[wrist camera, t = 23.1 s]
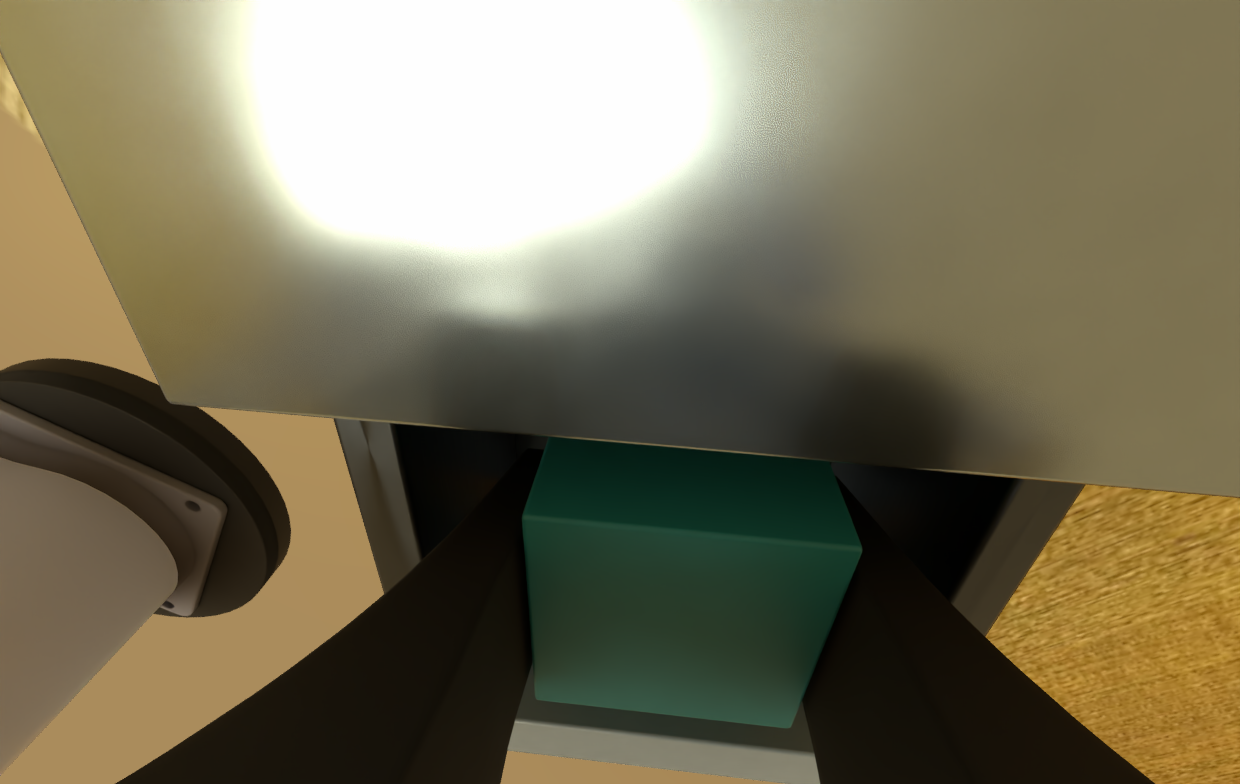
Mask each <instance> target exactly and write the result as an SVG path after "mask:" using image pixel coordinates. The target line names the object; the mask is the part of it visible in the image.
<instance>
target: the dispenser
mask: <svg viewBox="0 0 1240 784" xmlns="http://www.w3.org/2000/svg"><path fill="white" fill-rule="evenodd" d="M0 53H1V55H2V57H3V59H4V61H5V63H6V65H7V67H8V69H9V71H10V74H11V76H12V78H13V80H14V82H15V84H16V86H17V88H18V90H19V92H20V94H21V97H22V99H23V101H24V103H25V105H26V107H27V109H28V111H29V113H30V115H31V117H32V120H33V122H34V124H35V126H36V128H37V130H38V132H39V134H40V136H41V138H42V140H43V143H44V145H45V147H46V149H47V151H48V153H49V155H50V157H51V159H52V161H53V163H54V165H55V168H56V169H57V172H58V174H59V176H60V178H61V180H62V182H63V184H64V186H65V188H66V191H67V193H68V195H69V197H70V199H71V201H72V203H73V205H74V207H75V209H76V211H77V214H78V216H79V218H80V220H81V222H82V224H83V226H84V228H85V230H86V232H87V234H88V237H89V239H90V241H91V243H92V245H93V247H94V249H95V251H96V253H97V256H98V258H99V260H100V262H101V264H102V266H103V268H104V270H105V272H106V274H107V276H108V278H109V281H110V283H111V285H112V287H113V289H114V291H115V293H116V295H117V297H118V299H119V302H120V304H121V305H122V308H123V310H124V312H125V314H126V316H127V318H128V320H129V322H130V325H131V327H132V329H133V331H134V332H135V335H136V337H137V339H138V341H139V343H140V345H141V347H142V350H143V352H144V354H145V356H146V358H147V360H148V362H149V364H150V366H151V368H152V371H153V373H154V375H155V377H156V379H157V381H158V383H159V385H160V387H161V389H162V391H163V394H164V396H165V398H166V400H167V401H169V402H170V403H172V404H176V405H188V406H199V407H211V408H222V409H234V410H245V411H256V412H268V413H279V414H290V415H302V416H313V417H324V418H336V419H347V420H358V421H370V422H381V423H393V424H404V425H415V426H427V427H438V428H449V429H461V430H472V431H484V432H495V433H506V434H518V435H529V436H541V437H552V438H563V439H575V440H586V441H597V442H609V443H620V444H632V445H643V446H654V447H666V448H677V449H688V450H700V451H711V452H723V453H734V454H745V455H757V456H768V457H779V458H791V459H802V460H814V461H825V462H836V463H848V464H859V465H870V466H882V467H893V468H905V469H916V470H927V471H939V472H950V473H961V474H973V475H984V476H996V477H1007V478H1018V479H1030V480H1041V481H1053V482H1064V483H1075V484H1087V485H1098V486H1109V487H1121V488H1132V489H1144V490H1155V491H1166V492H1178V493H1189V494H1200V495H1212V496H1223V497H1235V498H1240V0H0Z"/></svg>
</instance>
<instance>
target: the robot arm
mask: <svg viewBox="0 0 1240 784" xmlns="http://www.w3.org/2000/svg"><path fill="white" fill-rule="evenodd" d="M543 452H544V450H543V449H531V448H528V449H526V450H525V451H524V452H523V453H522V454H521V455H520V456H519V457H518V458H517V460H516V461H515V462H514V463H513V464H512V466H511V467H510V468H509V469H508V470H507V472H506V473H505V474H504V475H503V476H502V477H501V479H500V480H499V481H498V482H497V483H496V484H495V485H494V486H493V488H492V489H491V490H490V491H489V492H488V493H487V494H486V495H485V497H484V498H483V499H482V500H481V501H480V502H479V503H478V504H477V505H476V506H475V507H474V508H473V509H472V510H471V512H470V513H469V514H468V515H467V516H466V517H465V518H464V519H463V520H462V521H461V522H460V523H459V524H458V525H457V526H456V527H455V528H454V529H453V530H452V531H451V532H450V533H449V534H448V536H447V537H445V538H444V539H443V540H442V541H441V542H440V543H439V544H438V545H437V546H436V547H435V548H434V549H433V550H432V551H431V552H430V553H429V554H428V555H427V556H426V557H425V558H423V559H422V560H421V561H420V562H419V563H418V564H417V565H416V566H415V567H414V568H413V569H412V570H411V571H410V572H409V573H408V574H407V575H406V576H404V577H403V578H402V579H401V580H400V581H399V582H398V583H397V584H395V585H394V586H393V587H392V588H391V589H390V590H389V591H387V592H386V593H385V594H384V595H383V596H382V597H380V598H379V599H378V600H377V601H376V602H375V603H373V604H372V605H371V606H370V607H369V608H367V609H366V610H365V611H364V612H363V613H361V614H360V615H359V616H358V617H357V618H355V619H354V620H353V621H351V622H350V623H349V624H348V625H347V626H345V627H344V628H343V629H342V630H340V631H339V632H338V633H336V634H335V635H334V636H332V637H331V638H330V639H328V640H327V641H326V642H325V643H323V644H322V645H321V646H319V647H318V648H317V649H315V650H314V651H313V652H311V653H310V654H309V655H307V656H306V657H305V658H304V659H302V660H301V661H299V662H298V663H297V664H295V665H294V666H293V667H291V668H290V669H289V670H287V671H286V672H285V673H283V674H282V675H280V676H279V677H278V678H276V679H275V680H273V681H272V682H271V683H269V684H268V685H266V686H265V687H263V688H262V689H261V690H259V691H258V692H256V693H255V694H254V695H252V696H251V697H249V698H247V699H246V700H244V701H243V702H242V703H240V704H239V705H237V706H235V707H234V708H232V709H231V710H229V711H228V712H226V713H225V714H223V715H222V716H220V717H219V718H217V719H216V720H214V721H213V722H211V723H210V724H208V725H207V726H205V727H204V728H202V729H201V730H199V731H198V732H196V733H195V734H193V735H192V736H190V737H189V738H187V739H186V740H184V741H183V742H181V743H180V744H178V745H177V746H175V747H173V748H172V749H170V750H169V751H168V752H166V753H164V754H163V755H161V756H159V757H158V758H156V759H155V760H153V761H152V762H150V763H148V764H147V765H145V766H144V767H142V768H140V769H139V770H137V771H136V772H134V773H132V774H131V775H129V776H127V777H126V778H124V779H122V780H121V781H119V782H117V783H116V784H500V782H501V778H502V773H503V768H504V763H505V759H506V754H507V749H508V745H509V742H510V738H511V734H512V730H513V726H514V722H515V719H516V715H517V712H518V709H519V705H520V702H521V699H522V695H523V692H524V689H525V685H526V682H527V679H528V675H529V672H530V669H531V665H532V649H531V636H530V622H529V608H528V595H527V581H526V568H525V554H524V540H523V527H522V515H523V512H524V509H525V506H526V503H527V500H528V497H529V494H530V491H531V488H532V485H533V482H534V479H535V476H536V473H537V470H538V467H539V464H540V461H541V458H542V455H543ZM835 478H836V480H837V483H838V485H839V488H840V491H841V493H842V496H843V499H844V501H845V504H846V506H847V509H848V512H849V514H850V517H851V519H852V522H853V525H854V527H855V530H856V533H857V535H858V538H859V540H860V543H861V546H862V554H861V556H860V559H859V561H858V564H857V566H856V569H855V571H854V573H853V576H852V578H851V581H850V583H849V586H848V588H847V591H846V593H845V596H844V598H843V601H842V603H841V605H840V608H839V610H838V613H837V615H836V618H835V620H834V623H833V625H832V628H831V630H830V633H829V635H828V637H827V640H826V642H825V645H824V647H823V650H822V652H821V655H820V657H819V660H818V662H817V665H816V667H815V669H814V672H813V674H812V677H811V679H810V682H809V684H808V687H807V689H806V692H805V694H804V697H803V699H802V703H803V707H804V711H805V716H806V720H807V724H808V728H809V733H810V737H811V741H812V745H813V750H814V754H815V759H816V765H817V770H818V775H819V780H820V784H1155V783H1154V782H1152V781H1151V780H1150V779H1149V778H1147V777H1146V776H1145V775H1144V774H1142V773H1141V772H1140V771H1139V770H1137V769H1136V768H1135V767H1134V766H1132V765H1131V764H1130V763H1129V762H1127V761H1126V760H1125V759H1124V758H1122V757H1121V756H1120V755H1119V754H1117V753H1116V752H1115V751H1114V750H1112V749H1111V748H1110V747H1109V746H1107V745H1106V744H1105V743H1104V742H1103V741H1101V740H1100V739H1099V738H1098V737H1097V736H1095V735H1094V734H1093V733H1092V732H1091V731H1089V730H1088V729H1087V728H1086V727H1085V726H1083V725H1082V724H1081V723H1080V722H1079V721H1077V720H1076V719H1075V718H1074V717H1073V716H1072V715H1070V714H1069V713H1068V712H1067V711H1066V710H1065V709H1064V708H1063V707H1061V706H1060V705H1059V704H1058V703H1057V702H1056V701H1055V700H1054V699H1052V698H1051V697H1050V696H1049V695H1048V694H1047V693H1046V692H1044V691H1043V690H1042V689H1041V688H1040V687H1039V686H1038V685H1037V684H1035V683H1034V682H1033V681H1032V680H1031V679H1030V678H1029V677H1028V676H1026V675H1025V674H1024V673H1023V672H1022V671H1021V670H1020V669H1019V668H1017V667H1016V666H1015V665H1014V664H1013V663H1012V662H1011V661H1010V660H1009V659H1008V658H1007V657H1006V656H1005V655H1003V654H1002V653H1001V652H1000V651H999V650H998V649H997V648H996V647H995V646H994V645H993V644H992V643H991V642H990V641H989V640H988V639H987V638H986V637H985V636H984V635H983V634H982V633H981V632H980V631H979V630H978V629H977V628H976V627H975V626H974V625H973V624H972V623H971V622H969V621H968V620H967V619H966V618H965V617H964V616H963V615H962V614H961V613H960V612H959V611H958V610H957V609H956V608H955V607H954V606H953V605H952V604H951V603H950V602H949V601H948V599H947V598H946V597H945V596H944V595H943V594H942V593H941V592H940V591H939V590H938V589H937V588H936V587H935V586H934V585H933V584H932V583H931V582H930V581H929V580H928V579H927V578H926V576H925V575H924V574H923V573H922V572H921V571H920V570H919V569H918V568H917V567H916V566H915V565H914V563H913V562H912V561H911V560H910V559H909V558H908V557H907V556H906V555H905V554H904V553H903V551H902V550H901V549H900V548H899V547H898V546H897V545H896V544H895V542H894V541H893V540H892V539H891V538H890V537H889V536H888V535H887V533H886V532H885V531H884V530H883V529H882V528H881V527H880V525H879V524H878V523H877V522H876V521H875V520H874V519H873V517H872V516H871V515H870V514H869V513H868V512H867V510H866V509H865V508H864V507H863V506H862V505H861V503H860V502H859V501H858V500H857V499H856V498H855V497H854V495H853V494H852V493H851V492H850V491H849V490H848V488H847V487H846V486H845V485H844V484H843V483H842V482H841V481H840V479H839V478H838V477H837V476H835ZM226 515H227V506H226V504H225V503H224V502H223V501H222V500H221V499H219V498H217V497H215V496H213V495H211V494H209V493H206V492H204V491H202V490H200V489H198V488H195V487H193V486H191V485H189V484H186V483H184V482H182V481H180V480H178V479H175V478H173V477H171V476H169V475H166V474H164V473H162V472H160V471H158V470H155V469H153V468H151V467H149V466H146V465H144V464H142V463H140V462H138V461H135V460H133V459H131V458H129V457H127V456H124V455H122V454H120V453H118V452H115V451H113V450H111V449H109V448H107V447H104V446H102V445H100V444H98V443H95V442H93V441H91V440H89V439H87V438H84V437H82V436H80V435H78V434H75V433H73V432H71V431H69V430H67V429H64V428H62V427H60V426H58V425H56V424H53V423H51V422H49V421H47V420H44V419H42V418H40V417H38V416H36V415H33V414H31V413H29V412H27V411H24V410H22V409H20V408H18V407H16V406H13V405H11V404H9V403H7V402H4V401H2V400H0V775H1V774H2V773H3V772H4V771H5V770H6V769H7V768H8V767H9V766H10V765H11V764H12V763H13V762H14V760H16V758H17V757H18V756H19V755H20V754H21V753H22V752H23V751H24V750H25V749H26V748H27V747H28V746H29V745H30V744H31V743H32V742H33V740H34V739H35V738H36V737H37V736H38V735H39V734H40V733H41V732H42V731H43V730H44V729H45V728H46V727H47V726H48V725H49V723H50V722H51V721H52V720H53V719H54V718H55V717H56V716H57V715H58V714H59V713H60V712H61V711H62V710H63V709H64V708H65V707H66V706H67V704H68V703H69V702H70V701H71V700H72V699H73V698H74V697H75V696H76V695H77V694H78V693H79V692H80V691H81V690H82V688H83V687H84V686H85V685H86V684H87V683H88V682H89V681H90V680H91V679H92V678H93V677H94V676H95V675H96V674H97V673H98V672H99V671H100V670H101V668H102V667H103V666H104V665H105V664H106V663H107V662H108V661H109V660H110V659H111V658H112V657H113V656H114V655H115V653H117V651H118V650H119V649H120V648H121V647H122V646H123V645H124V644H125V643H126V642H127V641H128V640H129V639H130V637H132V636H133V634H134V633H135V632H136V631H137V630H138V629H139V628H140V627H141V626H142V625H143V624H144V623H145V622H146V621H147V619H149V617H151V615H152V614H153V613H154V612H155V611H156V610H157V609H158V608H159V607H160V608H163V609H165V610H168V611H170V612H173V613H175V614H178V615H181V616H189V615H191V614H192V613H193V612H194V611H195V610H196V608H197V607H198V605H199V601H200V598H201V595H202V592H203V588H204V585H205V582H206V579H207V576H208V572H209V569H210V566H211V563H212V560H213V556H214V553H215V550H216V547H217V544H218V540H219V537H220V534H221V531H222V527H223V524H224V521H225V518H226Z"/></svg>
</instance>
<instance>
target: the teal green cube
mask: <svg viewBox="0 0 1240 784" xmlns="http://www.w3.org/2000/svg"><path fill="white" fill-rule="evenodd" d="M522 527H523V540H524V554H525V568H526V581H527V595H528V608H529V622H530V636H531V649H532V663H533V676H534V690H535V698H536V699H537V700H542V701H551V702H560V703H569V704H578V705H586V706H595V707H604V708H613V709H621V710H630V711H639V712H648V713H656V714H665V715H674V716H683V717H691V718H700V719H709V720H718V721H726V722H735V723H744V724H753V725H762V726H770V727H779V728H790V727H791V726H792V724H793V721H794V719H795V716H796V714H797V711H798V709H799V706H800V704H801V701H802V699H803V697H804V694H805V692H806V689H807V687H808V684H809V682H810V679H811V677H812V674H813V672H814V669H815V667H816V665H817V662H818V660H819V657H820V655H821V652H822V650H823V647H824V645H825V642H826V640H827V637H828V635H829V633H830V630H831V628H832V625H833V623H834V620H835V618H836V615H837V613H838V610H839V608H840V605H841V603H842V601H843V598H844V596H845V593H846V591H847V588H848V586H849V583H850V581H851V578H852V576H853V573H854V571H855V569H856V566H857V564H858V561H859V559H860V556H861V554H862V546H861V543H860V540H859V538H858V535H857V533H856V530H855V527H854V525H853V522H852V519H851V517H850V514H849V512H848V509H847V506H846V504H845V501H844V499H843V496H842V493H841V491H840V488H839V485H838V483H837V480H836V478H835V475H834V472H833V470H832V467H831V465H830V462H825V461H814V460H802V459H791V458H779V457H768V456H757V455H745V454H734V453H723V452H711V451H700V450H688V449H677V448H666V447H654V446H643V445H632V444H620V443H609V442H597V441H586V440H575V439H563V438H552V437H549V438H548V440H547V443H546V446H545V449H544V452H543V455H542V458H541V461H540V464H539V467H538V470H537V473H536V476H535V479H534V482H533V485H532V488H531V491H530V494H529V497H528V500H527V503H526V506H525V509H524V512H523V515H522Z"/></svg>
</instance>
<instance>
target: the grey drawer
mask: <svg viewBox="0 0 1240 784" xmlns="http://www.w3.org/2000/svg"><path fill="white" fill-rule="evenodd" d="M334 422H335V425H336V429H337V432H338V436H339V439H340V443H341V446H342V450H343V453H344V456H345V460H346V463H347V467H348V470H349V474H350V477H351V480H352V484H353V488H354V491H355V494H356V498H357V501H358V505H359V508H360V512H361V515H362V518H363V522H364V526H365V529H366V532H367V536H368V539H369V543H370V546H371V550H372V553H373V556H374V560H375V563H376V567H377V570H378V574H379V577H380V581H381V584H382V588H383V591H384V594H385V593H386V592H387V591H389V590H390V589H391V588H392V587H393V586H394V585H395V584H397V583H398V582H399V581H400V580H401V579H402V578H403V577H404V576H406V575H407V574H408V573H409V572H410V571H411V570H412V569H413V568H414V567H415V566H416V565H417V564H418V563H419V562H420V561H421V560H422V559H423V558H425V557H426V556H427V555H428V554H429V553H430V552H431V551H432V550H433V549H434V548H435V547H436V546H437V545H438V544H439V543H440V542H441V541H442V540H443V539H444V538H445V537H447V536H448V534H449V533H450V532H451V531H452V530H453V529H454V528H455V527H456V526H457V525H458V524H459V523H460V522H461V521H462V520H463V519H464V518H465V517H466V516H467V515H468V514H469V513H470V512H471V510H472V509H473V508H474V507H475V506H476V505H477V504H478V503H479V502H480V501H481V500H482V499H483V498H484V497H485V495H486V494H487V493H488V492H489V491H490V490H491V489H492V488H493V486H494V485H495V484H496V483H497V482H498V481H499V480H500V479H501V477H502V476H503V475H504V474H505V473H506V472H507V470H508V469H509V468H510V467H511V466H512V464H513V463H514V462H515V461H516V460H517V458H518V457H519V456H520V455H521V454H522V453H523V452H524V451H525V450H526V449H528V448H531V449H543V450H544V449H545V446H546V443H547V440H548V438H549V437H541V436H529V435H518V434H506V433H495V432H484V431H472V430H461V429H449V428H438V427H427V426H415V425H404V424H393V423H381V422H370V421H358V420H347V419H336V418H334ZM830 465H831V467H832V470H833V472H834V475H835V476H837V477H838V478H839V479H840V481H841V482H842V483H843V484H844V485H845V486H846V487H847V488H848V490H849V491H850V492H851V493H852V494H853V495H854V497H855V498H856V499H857V500H858V501H859V502H860V503H861V505H862V506H863V507H864V508H865V509H866V510H867V512H868V513H869V514H870V515H871V516H872V517H873V519H874V520H875V521H876V522H877V523H878V524H879V525H880V527H881V528H882V529H883V530H884V531H885V532H886V533H887V535H888V536H889V537H890V538H891V539H892V540H893V541H894V542H895V544H896V545H897V546H898V547H899V548H900V549H901V550H902V551H903V553H904V554H905V555H906V556H907V557H908V558H909V559H910V560H911V561H912V562H913V563H914V565H915V566H916V567H917V568H918V569H919V570H920V571H921V572H922V573H923V574H924V575H925V576H926V578H927V579H928V580H929V581H930V582H931V583H932V584H933V585H934V586H935V587H936V588H937V589H938V590H939V591H940V592H941V593H942V594H943V595H944V596H945V597H946V598H947V599H948V601H949V602H950V603H951V604H952V605H953V606H954V607H955V608H956V609H957V610H958V611H959V612H960V613H961V614H962V615H963V616H964V617H965V618H966V619H967V620H968V621H969V622H971V623H972V624H973V625H974V626H975V627H976V628H977V629H978V630H979V631H980V632H981V633H982V634H983V635H984V636H986V635H987V633H988V632H989V630H990V629H991V627H992V626H993V624H994V623H995V621H996V620H997V618H998V616H999V615H1000V613H1001V612H1002V610H1003V609H1004V607H1005V606H1006V604H1007V603H1008V601H1009V600H1010V598H1011V597H1012V595H1013V594H1014V592H1015V591H1016V589H1017V588H1018V586H1019V585H1020V583H1021V582H1022V580H1023V579H1024V577H1025V576H1026V574H1027V573H1028V571H1029V569H1030V568H1031V566H1032V565H1033V563H1034V562H1035V560H1036V559H1037V557H1038V556H1039V554H1040V553H1041V551H1042V550H1043V548H1044V547H1045V545H1046V544H1047V542H1048V541H1049V539H1050V538H1051V536H1052V535H1053V533H1054V532H1055V530H1056V529H1057V527H1058V526H1059V524H1060V523H1061V521H1062V519H1063V518H1064V516H1065V515H1066V513H1067V512H1068V510H1069V509H1070V507H1071V506H1072V504H1073V503H1074V501H1075V500H1076V498H1077V497H1078V495H1079V494H1080V492H1081V491H1082V489H1083V488H1084V486H1085V485H1086V484H1075V483H1064V482H1053V481H1041V480H1030V479H1018V478H1007V477H996V476H984V475H973V474H961V473H950V472H939V471H927V470H916V469H905V468H893V467H882V466H870V465H859V464H848V463H836V462H830ZM507 750H508V751H516V752H525V753H533V754H542V755H550V756H558V757H566V758H575V759H583V760H592V761H600V762H609V763H617V764H625V765H635V766H642V767H651V768H660V769H668V770H676V771H685V772H693V773H701V774H710V775H718V776H727V777H735V778H744V779H752V780H760V781H769V782H777V783H785V784H820V780H819V775H818V770H817V765H816V759H815V754H814V750H813V745H812V741H811V737H810V733H809V728H808V724H807V720H806V716H805V711H804V707H803V703H802V701H801V704H800V706H799V709H798V711H797V714H796V716H795V719H794V721H793V724H792V726H791V727H790V728H779V727H770V726H762V725H753V724H744V723H735V722H726V721H718V720H709V719H700V718H691V717H683V716H674V715H665V714H656V713H648V712H639V711H630V710H621V709H613V708H604V707H595V706H586V705H578V704H569V703H560V702H551V701H542V700H537V699H536V698H535V690H534V676H533V663H532V665H531V669H530V672H529V675H528V679H527V682H526V685H525V689H524V692H523V695H522V699H521V702H520V705H519V709H518V712H517V715H516V719H515V722H514V726H513V730H512V734H511V738H510V742H509V745H508V749H507Z"/></svg>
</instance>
